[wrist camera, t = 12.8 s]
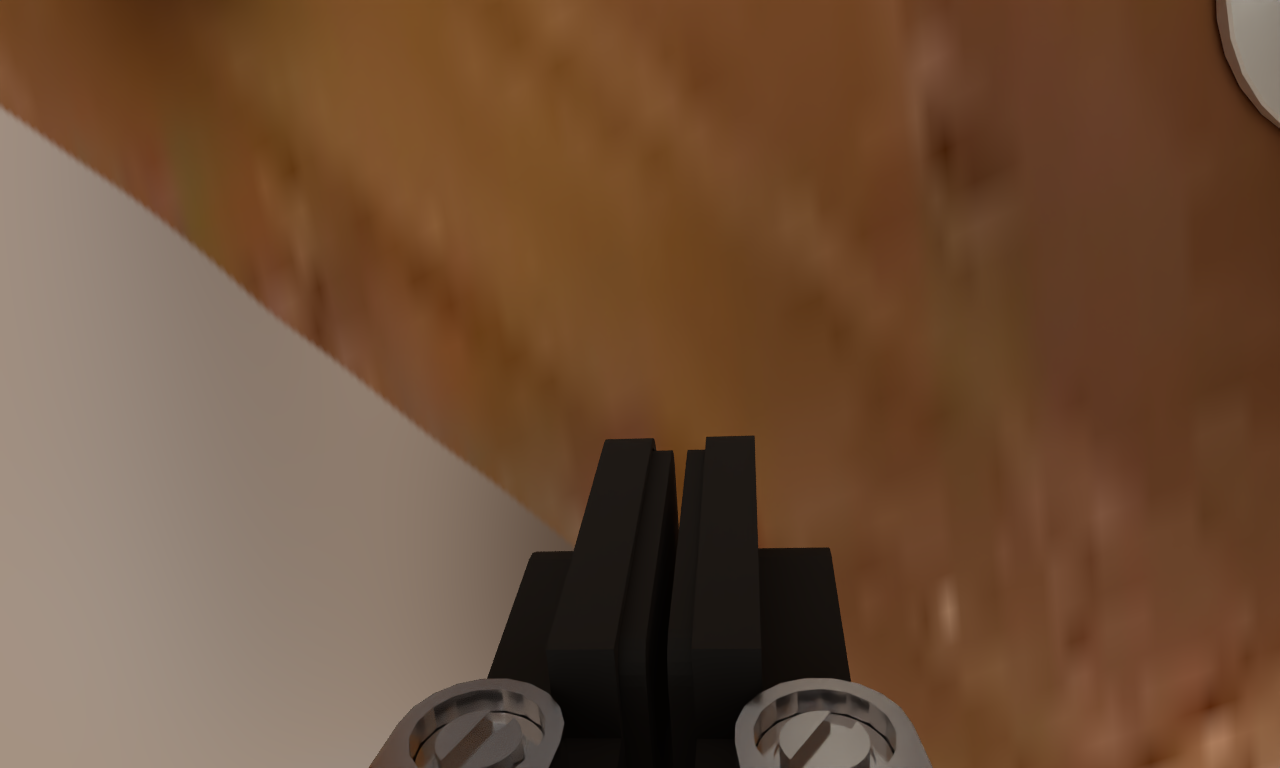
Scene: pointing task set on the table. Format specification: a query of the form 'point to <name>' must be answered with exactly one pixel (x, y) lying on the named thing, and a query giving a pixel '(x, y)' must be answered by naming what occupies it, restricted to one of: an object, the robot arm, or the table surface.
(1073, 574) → the table surface
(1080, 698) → the table surface
